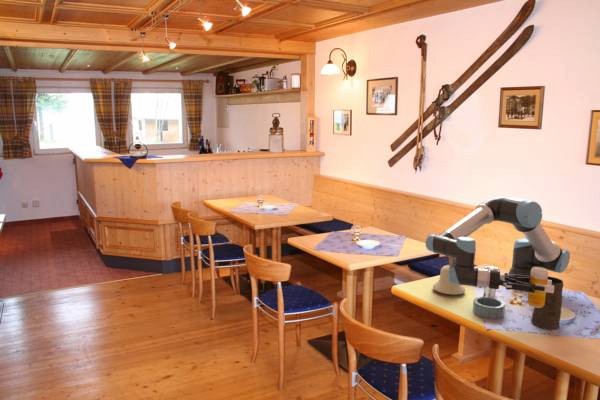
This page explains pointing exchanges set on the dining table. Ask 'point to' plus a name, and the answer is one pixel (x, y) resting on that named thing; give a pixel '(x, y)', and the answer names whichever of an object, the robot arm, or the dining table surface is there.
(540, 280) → the glass of beer
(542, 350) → the dining table surface
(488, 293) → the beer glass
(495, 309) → the round grey ashtray
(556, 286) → the beer stein
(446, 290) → the handbell
